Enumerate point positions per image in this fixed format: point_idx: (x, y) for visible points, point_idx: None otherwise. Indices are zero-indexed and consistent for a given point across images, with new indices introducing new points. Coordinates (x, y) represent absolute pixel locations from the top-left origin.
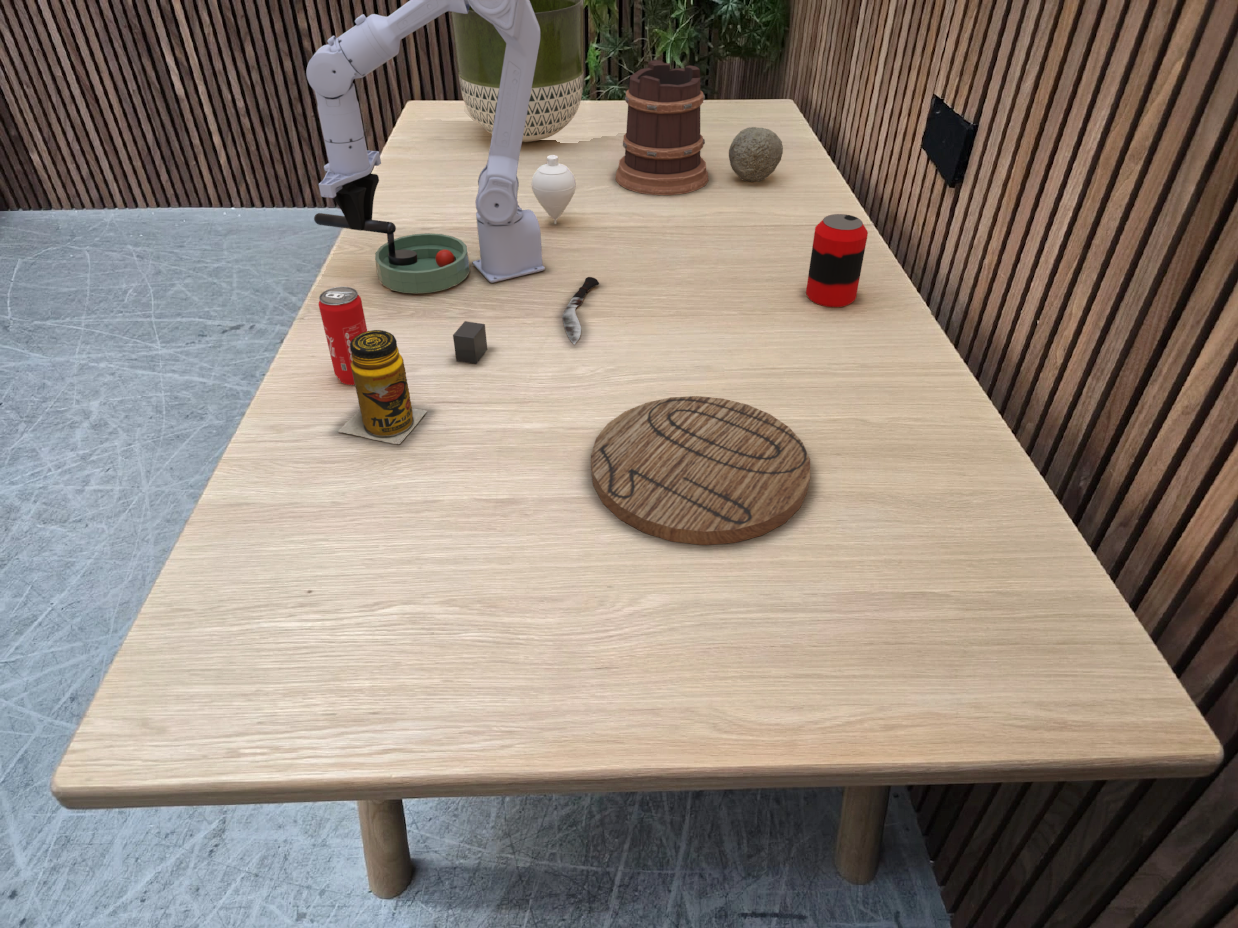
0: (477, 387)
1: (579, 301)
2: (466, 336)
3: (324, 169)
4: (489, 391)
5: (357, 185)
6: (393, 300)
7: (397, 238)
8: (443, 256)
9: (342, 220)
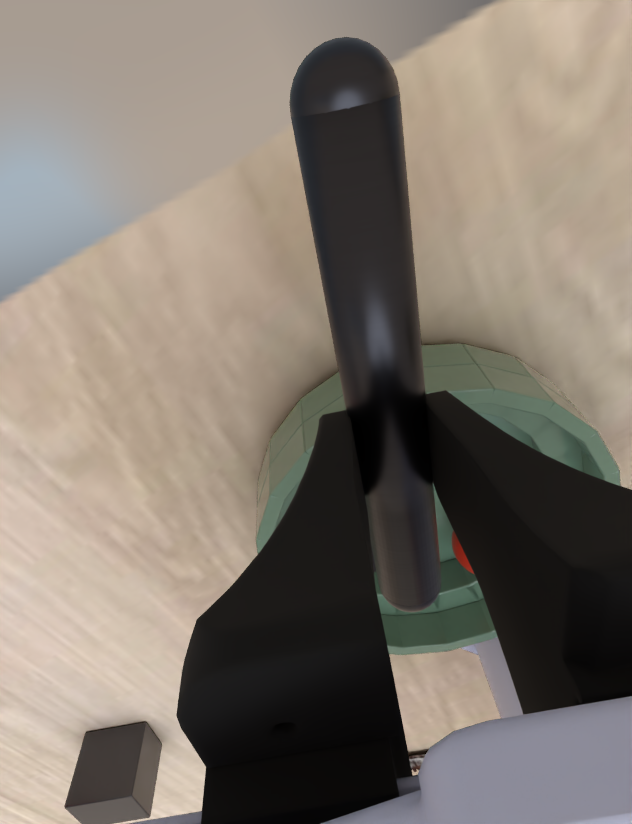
0: (46, 782)
1: (416, 768)
2: (81, 820)
3: (446, 781)
4: (52, 794)
5: (538, 665)
6: (220, 501)
7: (535, 402)
8: (469, 569)
9: (349, 362)
